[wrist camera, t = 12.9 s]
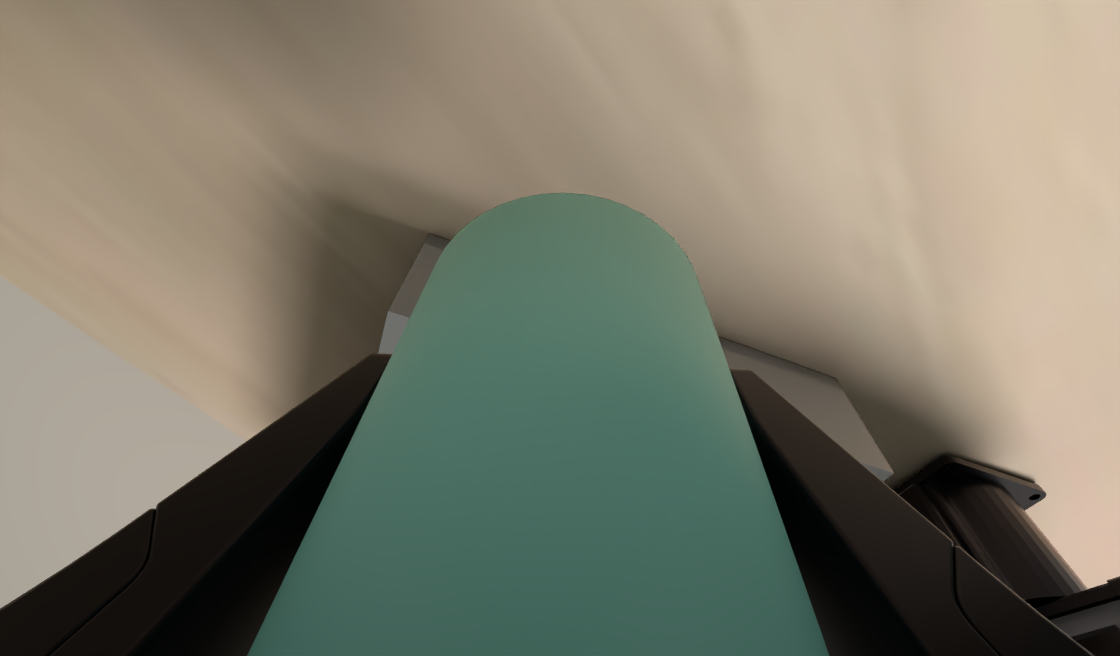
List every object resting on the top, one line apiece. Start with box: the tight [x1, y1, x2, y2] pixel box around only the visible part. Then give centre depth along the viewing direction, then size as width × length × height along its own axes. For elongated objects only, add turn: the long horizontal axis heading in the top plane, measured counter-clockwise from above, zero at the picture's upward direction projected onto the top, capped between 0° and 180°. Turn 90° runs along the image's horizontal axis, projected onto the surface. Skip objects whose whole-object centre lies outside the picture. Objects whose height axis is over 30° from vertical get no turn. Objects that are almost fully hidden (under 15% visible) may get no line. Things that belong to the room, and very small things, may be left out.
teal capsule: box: [247, 193, 829, 656], centre depth 6 cm, size 5×5×7 cm
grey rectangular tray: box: [378, 233, 894, 482], centre depth 22 cm, size 18×14×5 cm
